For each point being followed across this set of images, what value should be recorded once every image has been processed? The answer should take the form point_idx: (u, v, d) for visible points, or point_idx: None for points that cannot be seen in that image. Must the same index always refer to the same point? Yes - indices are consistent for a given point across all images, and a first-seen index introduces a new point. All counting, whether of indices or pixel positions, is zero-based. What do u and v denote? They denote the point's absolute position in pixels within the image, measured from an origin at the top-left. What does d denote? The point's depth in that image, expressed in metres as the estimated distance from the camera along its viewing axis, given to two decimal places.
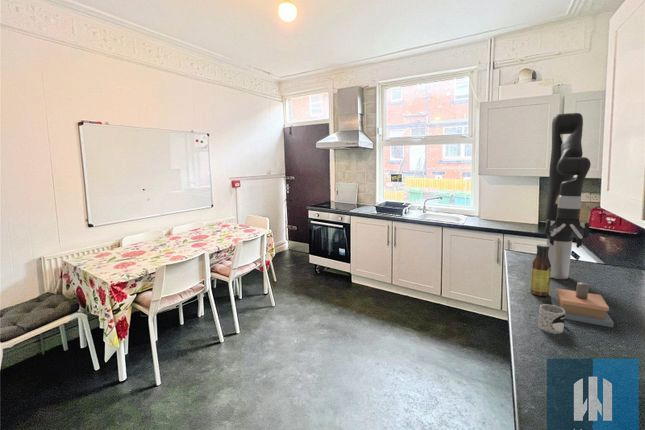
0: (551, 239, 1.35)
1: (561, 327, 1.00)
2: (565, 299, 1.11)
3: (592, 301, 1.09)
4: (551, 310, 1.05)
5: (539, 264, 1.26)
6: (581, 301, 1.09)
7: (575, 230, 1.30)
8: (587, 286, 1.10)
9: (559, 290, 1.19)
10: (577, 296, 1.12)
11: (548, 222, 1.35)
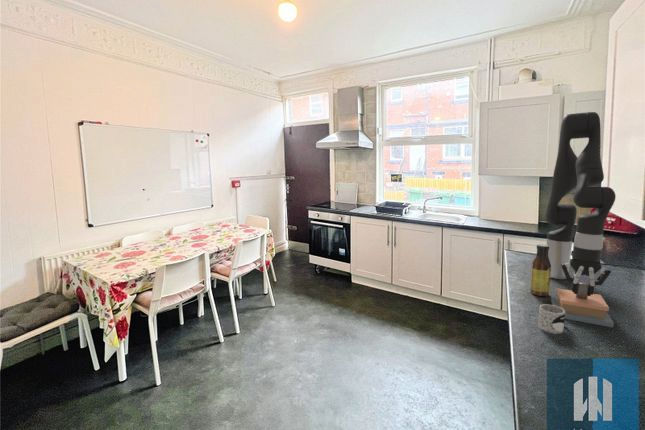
0: (574, 287, 1.12)
1: (561, 327, 1.00)
2: (565, 299, 1.11)
3: (592, 301, 1.09)
4: (551, 310, 1.05)
5: (539, 264, 1.26)
6: (581, 301, 1.09)
7: (591, 275, 1.09)
8: (587, 286, 1.10)
9: (559, 290, 1.19)
10: (577, 296, 1.12)
11: (563, 267, 1.13)
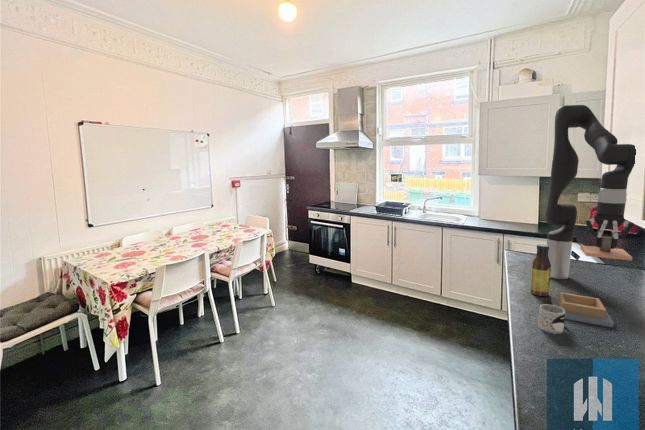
0: (598, 241, 1.19)
1: (561, 327, 1.00)
2: (590, 252, 1.18)
3: (615, 253, 1.16)
4: (551, 310, 1.05)
5: (539, 264, 1.26)
6: (605, 253, 1.16)
7: (615, 228, 1.16)
8: (611, 239, 1.17)
9: (583, 246, 1.25)
10: (601, 249, 1.19)
11: (588, 222, 1.19)
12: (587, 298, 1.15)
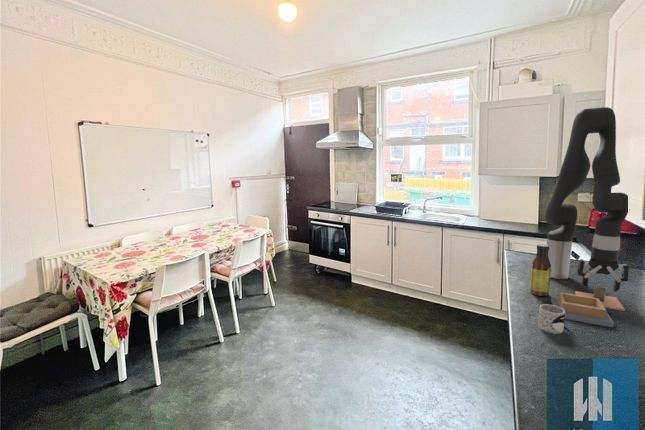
0: (584, 281, 1.23)
1: (561, 327, 1.00)
2: None
3: (609, 303, 1.19)
4: (551, 310, 1.05)
5: (539, 264, 1.26)
6: None
7: (613, 273, 1.18)
8: (604, 289, 1.20)
9: (577, 293, 1.28)
10: None
11: (581, 262, 1.22)
12: (587, 298, 1.15)
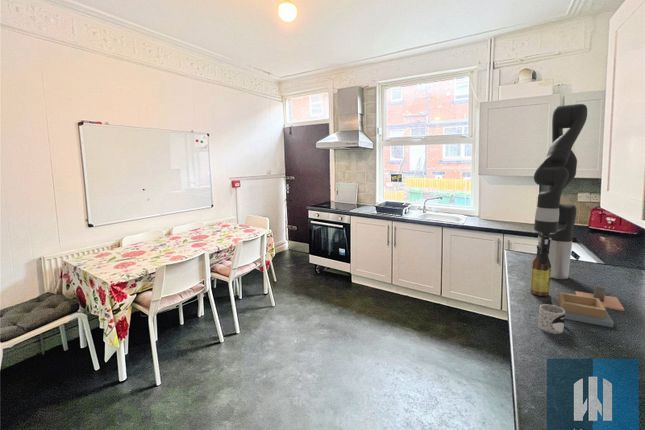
0: None
1: (561, 327, 1.00)
2: None
3: (608, 303, 1.19)
4: (551, 310, 1.05)
5: (539, 264, 1.26)
6: None
7: (539, 243, 1.26)
8: (604, 289, 1.20)
9: (577, 293, 1.28)
10: None
11: None
12: (587, 298, 1.15)
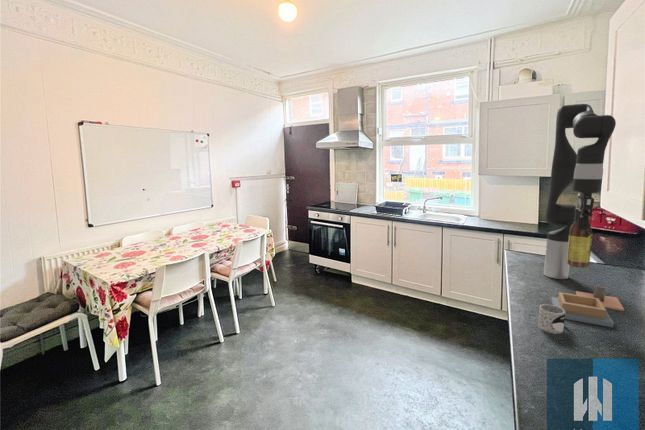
0: None
1: (561, 327, 1.00)
2: None
3: (608, 303, 1.19)
4: (551, 310, 1.05)
5: (578, 230, 1.09)
6: None
7: (579, 206, 1.09)
8: (604, 289, 1.20)
9: (577, 292, 1.29)
10: None
11: None
12: (587, 298, 1.15)
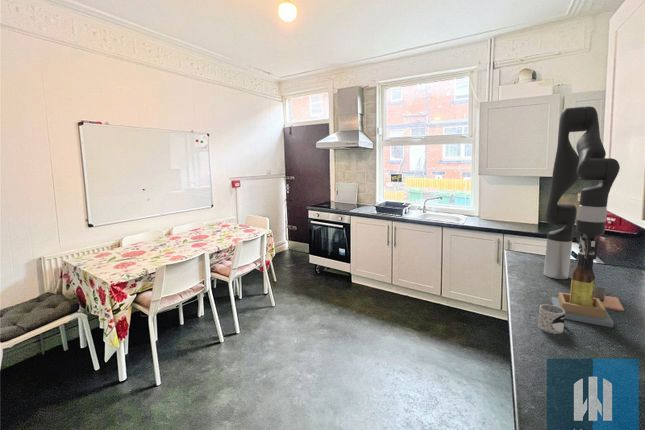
0: None
1: (561, 327, 1.00)
2: None
3: (608, 303, 1.19)
4: (551, 310, 1.05)
5: (581, 275, 1.09)
6: None
7: (582, 247, 1.08)
8: (604, 289, 1.20)
9: None
10: None
11: (580, 235, 1.15)
12: None
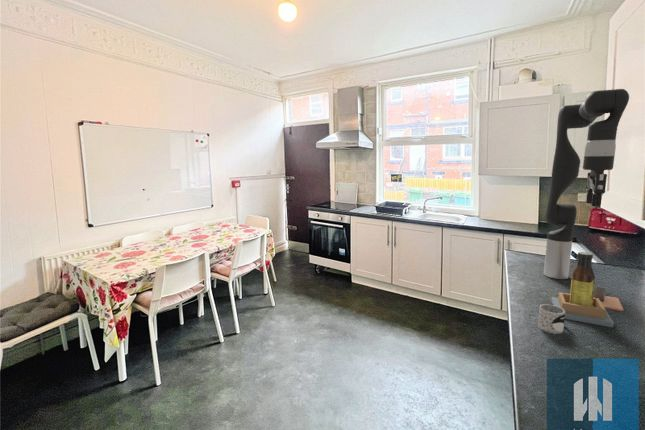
0: None
1: (561, 327, 1.00)
2: None
3: (608, 303, 1.19)
4: (551, 310, 1.05)
5: (581, 275, 1.09)
6: None
7: (590, 183, 1.05)
8: (604, 289, 1.20)
9: None
10: None
11: None
12: None
